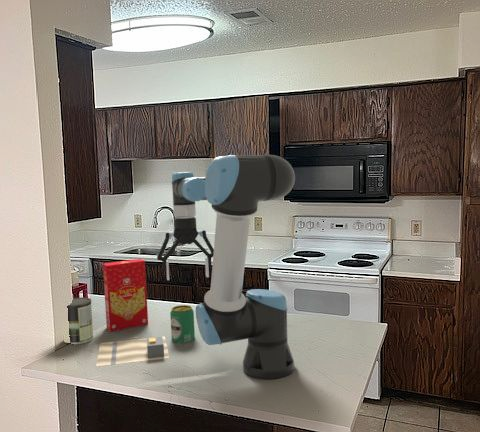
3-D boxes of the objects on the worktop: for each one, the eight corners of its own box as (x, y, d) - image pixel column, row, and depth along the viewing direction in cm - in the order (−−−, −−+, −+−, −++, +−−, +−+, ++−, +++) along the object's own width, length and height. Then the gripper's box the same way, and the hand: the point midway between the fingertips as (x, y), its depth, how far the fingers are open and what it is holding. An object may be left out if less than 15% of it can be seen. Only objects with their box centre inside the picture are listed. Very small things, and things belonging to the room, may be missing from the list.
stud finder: (164, 356, 151) (163, 342, 151) (148, 358, 150) (147, 344, 149) (162, 348, 158) (162, 335, 157) (147, 350, 157) (146, 336, 156)
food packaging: (110, 331, 180) (106, 265, 178) (106, 327, 185) (102, 263, 182) (148, 324, 187) (144, 260, 185) (143, 320, 192) (140, 258, 189)
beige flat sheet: (169, 361, 150) (169, 357, 150) (96, 370, 145) (96, 366, 145) (165, 339, 169) (164, 336, 169) (100, 346, 165) (100, 343, 165)
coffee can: (64, 346, 166) (61, 306, 164) (62, 337, 175) (60, 299, 174) (95, 341, 170) (92, 302, 169) (92, 332, 179) (89, 295, 178)
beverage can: (166, 342, 166) (165, 309, 165) (183, 336, 172) (182, 303, 171) (182, 347, 161) (181, 312, 160) (199, 340, 167) (198, 307, 166)
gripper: (219, 214, 171) (221, 273, 173) (147, 218, 166) (151, 278, 168) (222, 215, 164) (225, 277, 166) (148, 220, 159) (151, 283, 161)
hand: (187, 278), depth 167 cm, fingers open, 13 cm apart
